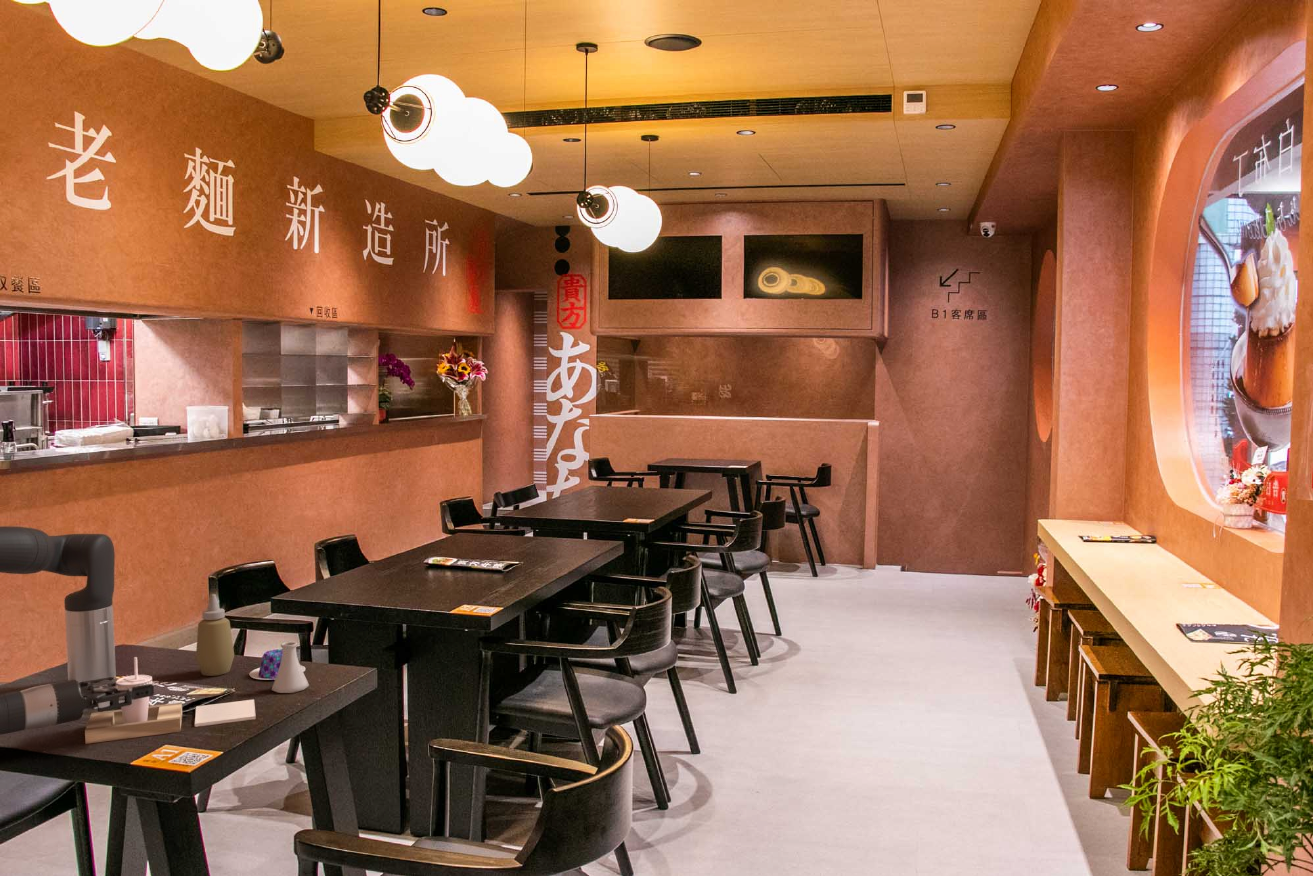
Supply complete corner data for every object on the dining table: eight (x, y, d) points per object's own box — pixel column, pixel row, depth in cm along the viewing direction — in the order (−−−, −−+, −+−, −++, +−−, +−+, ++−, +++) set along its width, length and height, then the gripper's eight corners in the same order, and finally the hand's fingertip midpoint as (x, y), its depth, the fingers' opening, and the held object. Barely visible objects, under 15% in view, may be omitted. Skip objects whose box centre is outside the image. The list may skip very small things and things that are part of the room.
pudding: (292, 683, 229) (292, 660, 229) (239, 682, 230) (239, 659, 230) (313, 667, 241) (313, 645, 241) (263, 666, 242) (262, 644, 242)
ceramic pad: (196, 709, 211) (196, 706, 211) (254, 702, 216) (254, 699, 216) (194, 726, 201) (194, 723, 201) (255, 719, 205) (255, 716, 205)
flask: (265, 692, 222) (263, 646, 222) (289, 682, 229) (287, 637, 228) (292, 696, 220) (290, 649, 219) (315, 686, 226) (313, 641, 226)
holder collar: (92, 725, 202) (91, 713, 202) (182, 714, 208) (181, 702, 208) (85, 743, 193) (84, 730, 192) (180, 731, 199) (179, 718, 199)
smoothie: (139, 735, 197) (136, 663, 196) (109, 733, 198) (106, 661, 197) (161, 724, 203) (158, 653, 202) (132, 721, 204) (129, 652, 203)
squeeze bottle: (225, 678, 232) (222, 598, 231) (189, 678, 232) (186, 599, 231) (240, 667, 240) (238, 590, 239) (206, 667, 240) (203, 590, 239)
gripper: (59, 693, 185) (158, 674, 196) (39, 676, 195) (135, 658, 206) (61, 735, 185) (160, 713, 196) (41, 715, 196) (136, 695, 207)
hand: (147, 685), depth 201 cm, fingers closed on smoothie, 6 cm apart
